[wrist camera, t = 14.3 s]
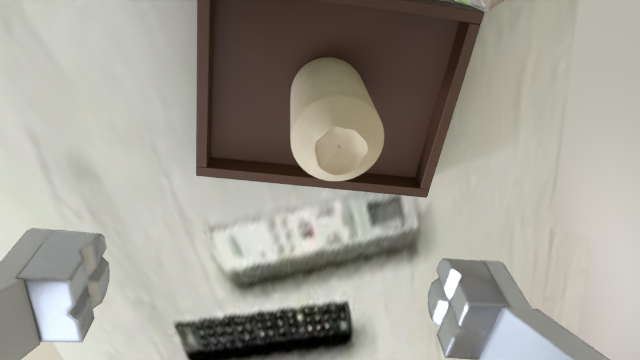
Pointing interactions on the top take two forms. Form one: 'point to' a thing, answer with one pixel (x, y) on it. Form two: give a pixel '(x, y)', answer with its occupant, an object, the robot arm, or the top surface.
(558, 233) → the top surface
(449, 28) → the tray
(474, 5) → the tea box
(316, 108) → the candle
